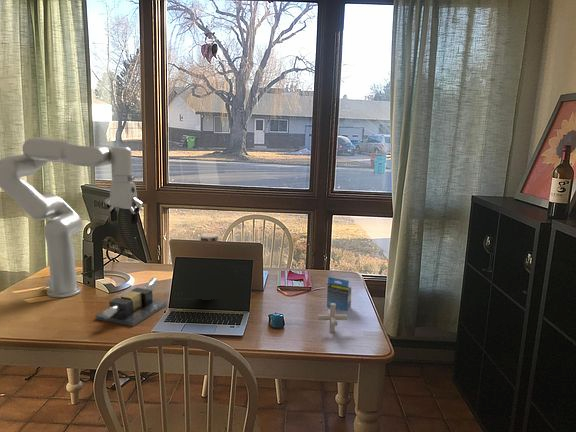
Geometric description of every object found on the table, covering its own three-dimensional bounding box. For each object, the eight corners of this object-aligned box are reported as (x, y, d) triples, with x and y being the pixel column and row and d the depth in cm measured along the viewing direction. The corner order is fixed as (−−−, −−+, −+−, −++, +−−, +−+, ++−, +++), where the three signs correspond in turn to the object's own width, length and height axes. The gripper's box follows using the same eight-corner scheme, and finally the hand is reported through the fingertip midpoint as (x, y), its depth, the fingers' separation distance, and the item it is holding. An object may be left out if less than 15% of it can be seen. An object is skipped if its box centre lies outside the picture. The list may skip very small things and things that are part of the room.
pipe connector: (315, 325, 168) (316, 298, 166) (343, 324, 169) (344, 298, 167) (319, 337, 159) (320, 309, 156) (349, 337, 159) (350, 309, 157)
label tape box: (351, 307, 185) (352, 277, 182) (347, 311, 181) (348, 280, 179) (330, 303, 189) (331, 273, 186) (326, 306, 185) (327, 276, 183)
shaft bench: (87, 323, 165) (85, 299, 164) (139, 295, 192) (138, 274, 190) (125, 331, 160) (124, 306, 158) (173, 301, 187) (172, 279, 185)
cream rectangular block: (121, 314, 174) (120, 296, 172) (132, 308, 179) (131, 291, 178) (131, 316, 172) (131, 298, 171) (142, 310, 178) (141, 292, 176)
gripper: (147, 179, 184) (148, 222, 187) (110, 176, 190) (112, 218, 193) (134, 181, 177) (136, 226, 181) (97, 178, 183) (99, 221, 186)
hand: (124, 222), depth 187 cm, fingers open, 9 cm apart
